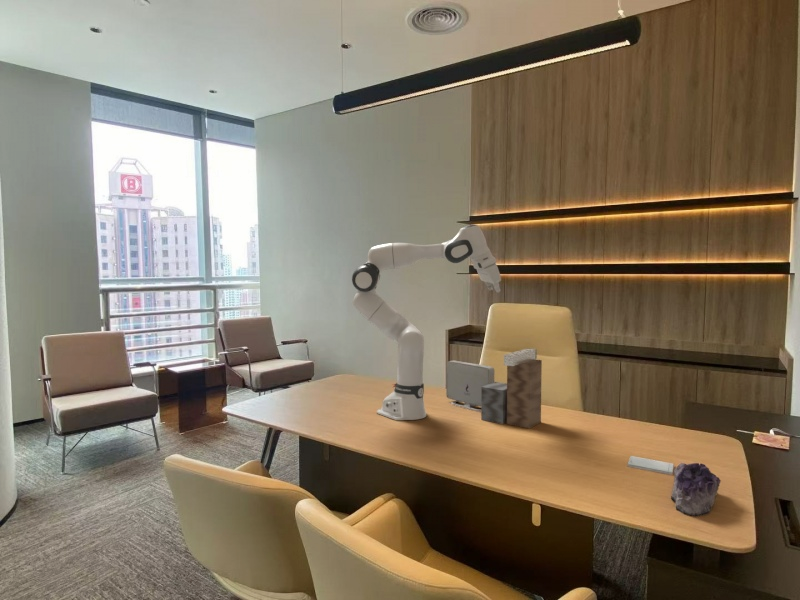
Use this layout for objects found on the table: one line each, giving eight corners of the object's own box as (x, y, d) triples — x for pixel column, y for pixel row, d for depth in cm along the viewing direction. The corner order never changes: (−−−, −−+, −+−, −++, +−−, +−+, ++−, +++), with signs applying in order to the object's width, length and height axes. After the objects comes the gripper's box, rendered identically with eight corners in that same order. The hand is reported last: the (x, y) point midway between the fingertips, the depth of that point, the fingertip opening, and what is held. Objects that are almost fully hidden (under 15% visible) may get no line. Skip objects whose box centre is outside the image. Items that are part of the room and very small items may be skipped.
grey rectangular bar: (503, 364, 185) (503, 354, 185) (527, 357, 202) (527, 348, 202) (513, 366, 183) (513, 355, 182) (536, 358, 200) (536, 349, 199)
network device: (443, 402, 229) (443, 361, 228) (455, 399, 235) (455, 359, 234) (485, 413, 210) (486, 368, 209) (497, 409, 216) (498, 366, 215)
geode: (722, 525, 115) (716, 484, 115) (668, 517, 122) (662, 479, 122) (724, 491, 132) (719, 455, 132) (676, 486, 138) (671, 452, 138)
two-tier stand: (481, 419, 201) (481, 358, 200) (495, 413, 211) (495, 355, 210) (528, 429, 188) (528, 364, 187) (540, 422, 197) (541, 360, 196)
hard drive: (627, 463, 151) (672, 471, 144) (630, 455, 158) (673, 462, 151) (627, 468, 151) (672, 477, 144) (630, 460, 158) (673, 467, 151)
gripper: (469, 263, 209) (481, 291, 211) (482, 264, 188) (495, 296, 190) (482, 257, 209) (494, 285, 211) (496, 258, 189) (509, 290, 191)
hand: (494, 290), depth 200 cm, fingers open, 8 cm apart
